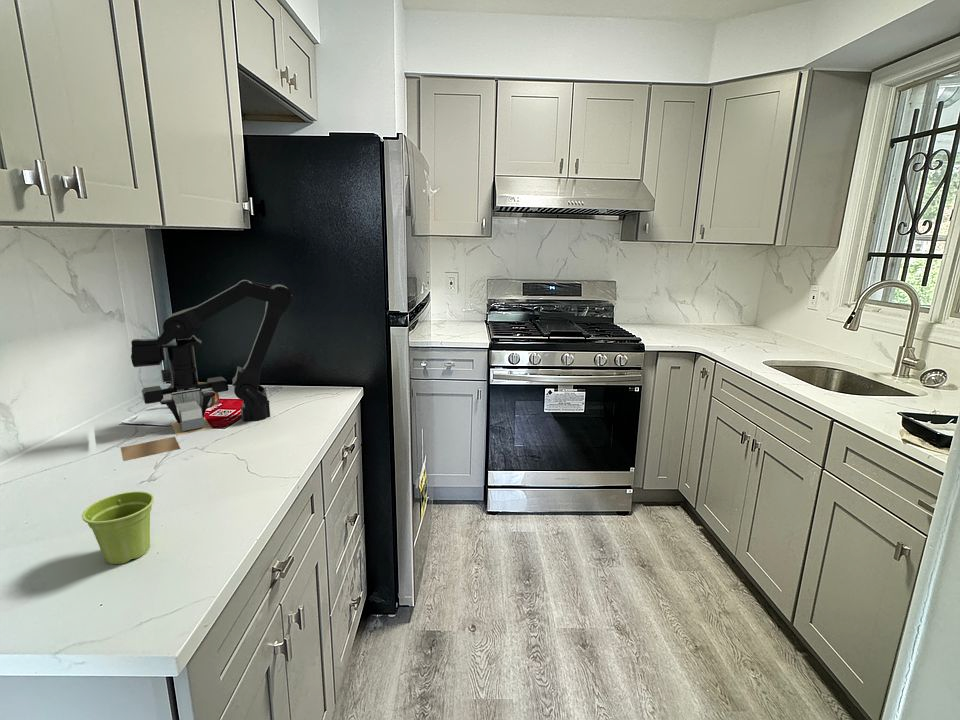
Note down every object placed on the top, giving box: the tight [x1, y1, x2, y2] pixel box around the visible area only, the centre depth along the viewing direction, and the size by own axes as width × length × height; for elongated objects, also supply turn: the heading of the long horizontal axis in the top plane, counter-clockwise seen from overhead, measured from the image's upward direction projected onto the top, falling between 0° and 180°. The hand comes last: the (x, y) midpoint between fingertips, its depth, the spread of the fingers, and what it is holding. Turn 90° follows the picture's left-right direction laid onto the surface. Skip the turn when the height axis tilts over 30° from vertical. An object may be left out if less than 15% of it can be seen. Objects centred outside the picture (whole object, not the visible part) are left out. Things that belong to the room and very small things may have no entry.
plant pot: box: [81, 490, 155, 565], centre depth 80 cm, size 9×9×9 cm
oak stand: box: [170, 416, 213, 436], centre depth 130 cm, size 8×10×2 cm
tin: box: [168, 381, 220, 408], centre depth 146 cm, size 15×3×8 cm, turn 84°
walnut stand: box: [120, 436, 182, 462], centre depth 117 cm, size 11×9×2 cm
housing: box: [176, 401, 205, 431], centre depth 129 cm, size 5×8×5 cm, turn 39°
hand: (190, 420), depth 130 cm, fingers closed on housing, 5 cm apart
